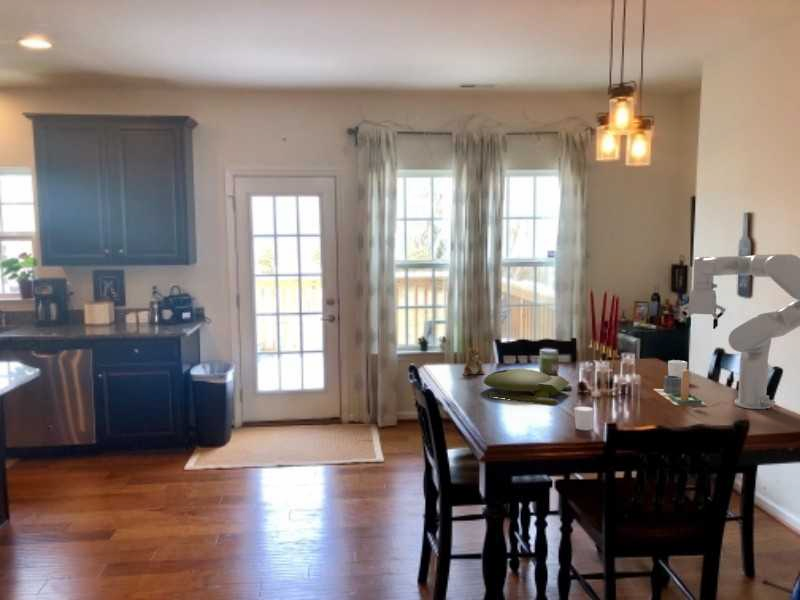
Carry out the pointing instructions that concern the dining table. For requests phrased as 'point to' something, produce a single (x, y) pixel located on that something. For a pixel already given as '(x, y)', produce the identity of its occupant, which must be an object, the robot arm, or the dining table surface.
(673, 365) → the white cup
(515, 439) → the dining table surface
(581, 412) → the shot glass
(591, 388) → the dining table surface
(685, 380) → the dowel
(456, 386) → the dining table surface
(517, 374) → the spaceship
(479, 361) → the stuffed squirrel
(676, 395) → the stand
